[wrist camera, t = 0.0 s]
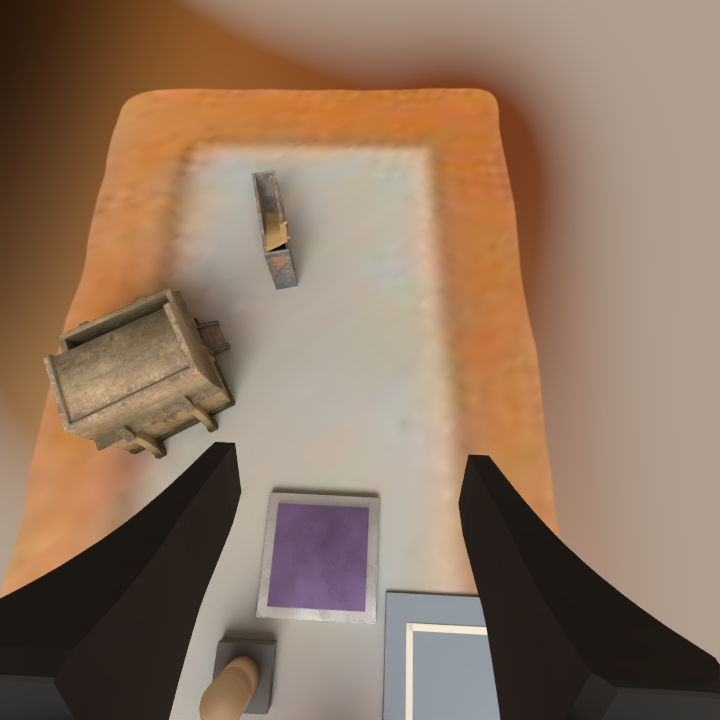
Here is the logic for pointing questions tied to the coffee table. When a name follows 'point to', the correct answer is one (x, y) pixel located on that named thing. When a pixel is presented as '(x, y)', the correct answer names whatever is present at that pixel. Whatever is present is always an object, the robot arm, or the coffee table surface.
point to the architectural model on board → (274, 229)
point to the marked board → (437, 659)
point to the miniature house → (139, 375)
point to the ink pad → (320, 558)
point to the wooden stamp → (240, 680)
